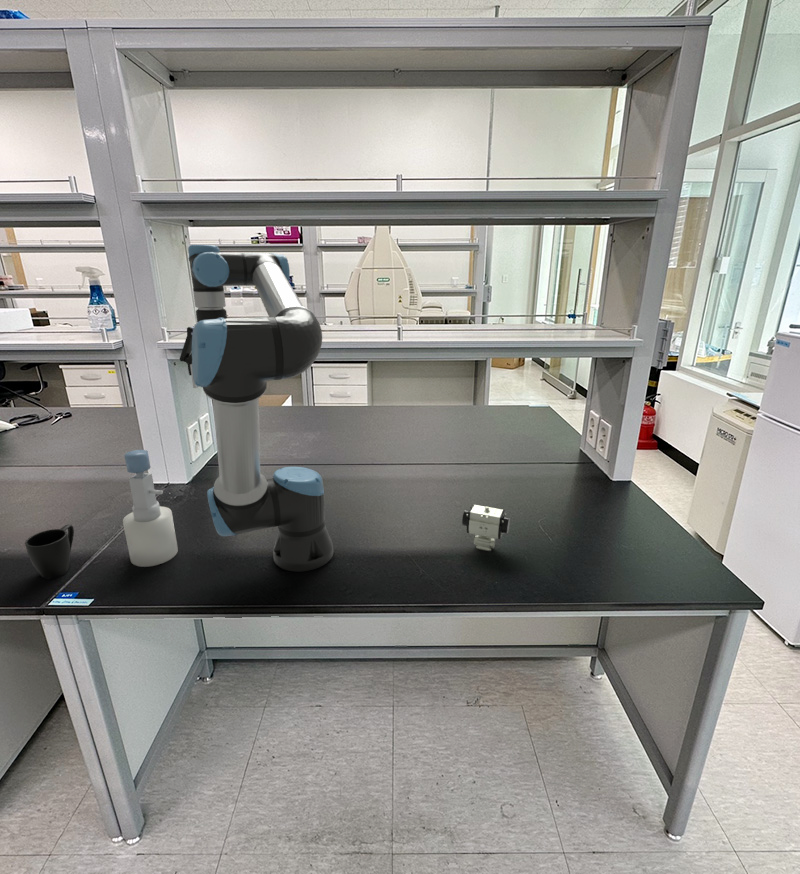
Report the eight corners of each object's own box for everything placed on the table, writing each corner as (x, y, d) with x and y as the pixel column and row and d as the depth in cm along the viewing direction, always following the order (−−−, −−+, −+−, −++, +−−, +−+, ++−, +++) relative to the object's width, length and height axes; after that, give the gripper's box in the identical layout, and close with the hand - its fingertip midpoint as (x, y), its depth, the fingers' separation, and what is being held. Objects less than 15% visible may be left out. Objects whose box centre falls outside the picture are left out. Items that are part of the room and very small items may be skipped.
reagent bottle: (186, 545, 130) (174, 468, 123) (161, 568, 120) (146, 487, 112) (148, 541, 131) (134, 466, 124) (120, 564, 121) (103, 483, 114)
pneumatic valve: (464, 538, 134) (467, 499, 130) (507, 547, 130) (511, 507, 126) (459, 548, 129) (461, 508, 125) (504, 558, 125) (507, 516, 121)
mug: (93, 554, 125) (86, 522, 122) (58, 583, 114) (49, 547, 111) (63, 553, 126) (55, 520, 123) (25, 581, 114) (15, 545, 111)
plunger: (160, 498, 123) (152, 450, 118) (147, 507, 118) (138, 457, 114) (142, 497, 123) (133, 449, 119) (129, 506, 119) (119, 456, 114)
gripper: (262, 308, 129) (268, 386, 136) (175, 306, 132) (185, 383, 139) (249, 310, 122) (257, 393, 129) (158, 308, 125) (170, 389, 132)
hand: (220, 388), depth 134 cm, fingers open, 13 cm apart
